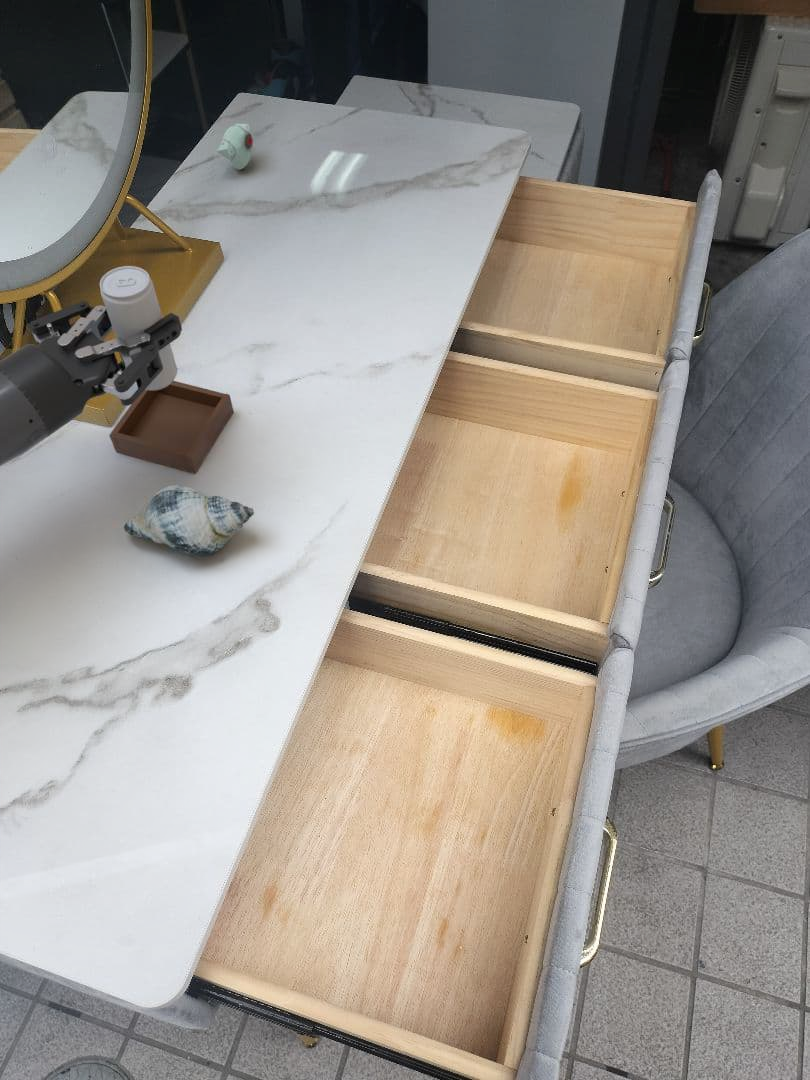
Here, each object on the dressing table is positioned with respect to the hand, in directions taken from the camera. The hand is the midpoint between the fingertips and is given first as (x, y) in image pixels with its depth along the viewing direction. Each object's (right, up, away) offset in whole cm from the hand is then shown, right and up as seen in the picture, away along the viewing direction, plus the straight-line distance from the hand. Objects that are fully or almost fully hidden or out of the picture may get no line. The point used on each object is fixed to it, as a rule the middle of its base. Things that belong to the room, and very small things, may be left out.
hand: (158, 310), depth 81 cm
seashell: (+2, -23, +5) cm, 23 cm away
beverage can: (-2, -6, +5) cm, 8 cm away
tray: (-2, -10, +13) cm, 17 cm away
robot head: (0, +34, +43) cm, 55 cm away
